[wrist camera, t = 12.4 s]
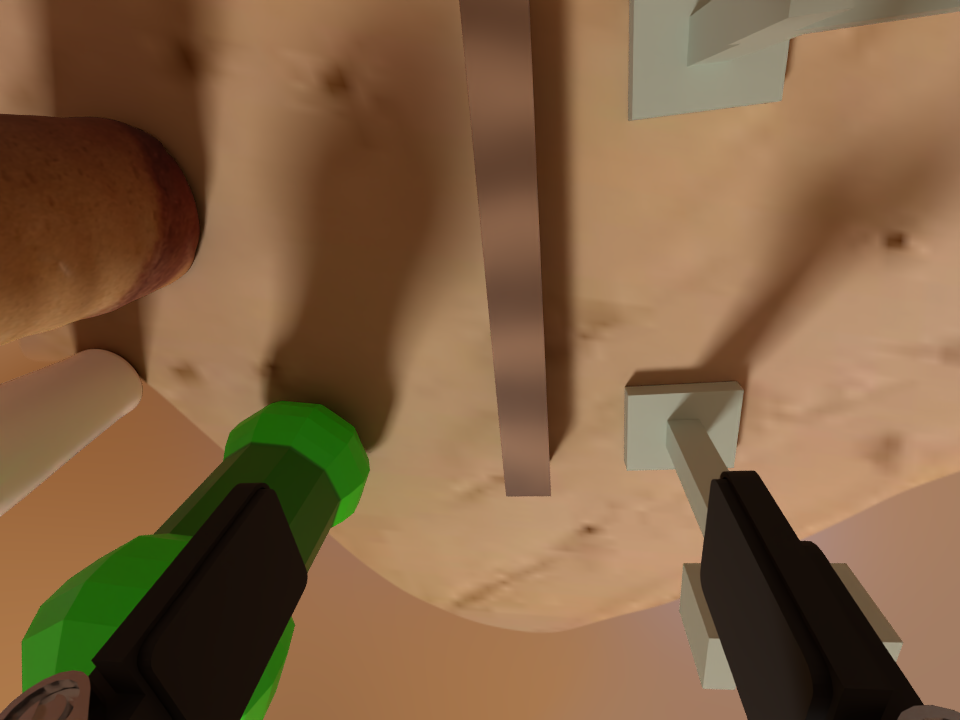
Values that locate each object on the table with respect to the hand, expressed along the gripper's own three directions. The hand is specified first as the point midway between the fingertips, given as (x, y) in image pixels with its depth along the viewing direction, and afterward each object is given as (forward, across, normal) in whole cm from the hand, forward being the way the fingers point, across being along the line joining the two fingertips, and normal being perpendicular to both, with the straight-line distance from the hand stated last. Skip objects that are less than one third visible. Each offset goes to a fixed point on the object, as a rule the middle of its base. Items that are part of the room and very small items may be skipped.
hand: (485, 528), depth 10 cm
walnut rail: (+22, 0, +1) cm, 22 cm away
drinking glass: (+21, +31, +6) cm, 38 cm away
